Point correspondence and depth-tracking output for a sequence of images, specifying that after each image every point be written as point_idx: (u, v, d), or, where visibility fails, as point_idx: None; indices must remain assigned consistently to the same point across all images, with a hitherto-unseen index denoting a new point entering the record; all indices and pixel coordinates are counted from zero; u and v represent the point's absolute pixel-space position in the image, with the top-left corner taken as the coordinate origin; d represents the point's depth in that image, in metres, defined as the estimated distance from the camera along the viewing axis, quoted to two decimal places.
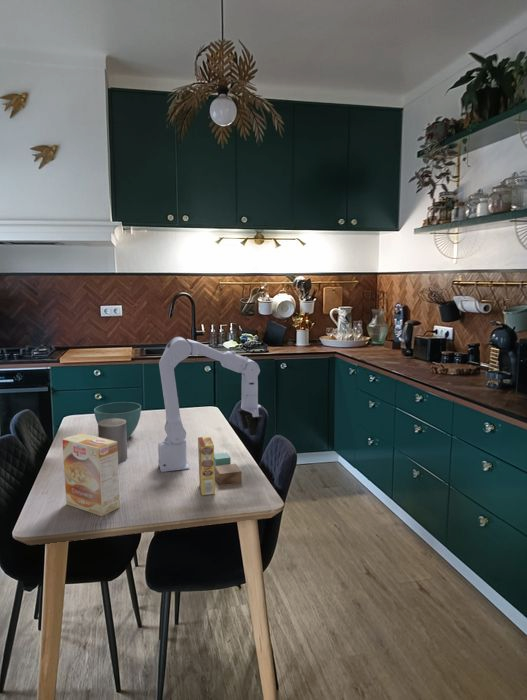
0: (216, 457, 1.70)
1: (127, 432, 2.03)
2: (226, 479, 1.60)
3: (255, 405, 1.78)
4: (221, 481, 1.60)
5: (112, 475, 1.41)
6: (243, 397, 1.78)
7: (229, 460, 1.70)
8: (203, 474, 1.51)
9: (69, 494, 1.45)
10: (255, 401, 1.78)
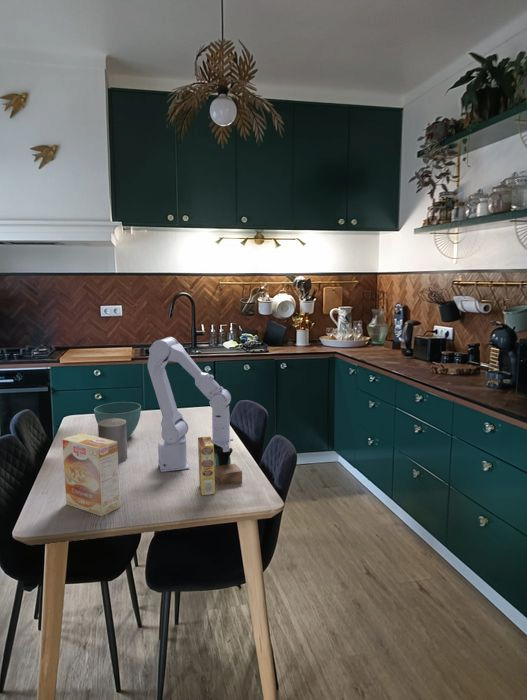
0: (216, 457, 1.70)
1: (127, 432, 2.03)
2: (227, 479, 1.60)
3: (226, 438, 1.69)
4: (222, 481, 1.59)
5: (112, 475, 1.41)
6: (214, 430, 1.69)
7: (229, 460, 1.70)
8: (203, 474, 1.51)
9: (69, 494, 1.45)
10: (226, 434, 1.69)
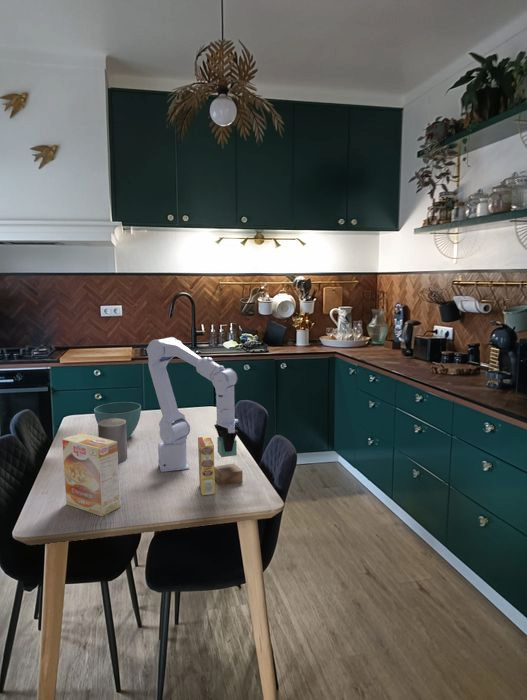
0: (221, 440, 1.63)
1: (127, 432, 2.03)
2: (227, 479, 1.60)
3: (231, 419, 1.62)
4: (223, 481, 1.59)
5: (112, 475, 1.41)
6: (218, 411, 1.61)
7: (235, 443, 1.63)
8: (203, 474, 1.51)
9: (69, 494, 1.45)
10: (231, 415, 1.62)
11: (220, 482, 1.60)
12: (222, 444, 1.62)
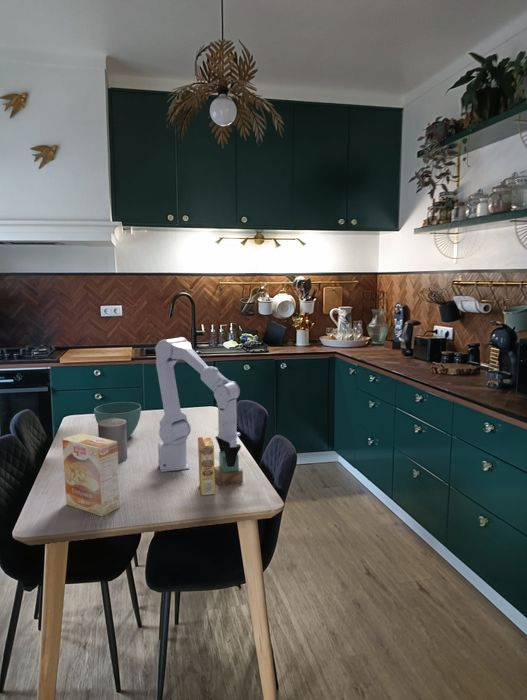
0: (223, 455, 1.61)
1: (127, 432, 2.03)
2: (228, 479, 1.60)
3: (233, 433, 1.60)
4: (223, 481, 1.59)
5: (112, 475, 1.41)
6: (220, 424, 1.59)
7: (237, 458, 1.61)
8: (203, 474, 1.51)
9: (69, 494, 1.45)
10: (233, 429, 1.60)
11: (221, 482, 1.60)
12: (224, 459, 1.60)
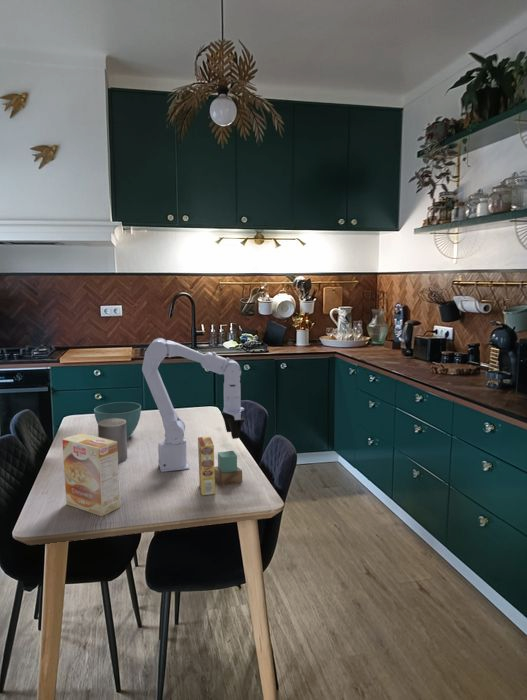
0: (222, 455, 1.61)
1: (127, 432, 2.03)
2: (228, 479, 1.60)
3: (238, 408, 1.73)
4: (223, 481, 1.59)
5: (112, 475, 1.41)
6: (225, 399, 1.73)
7: (235, 458, 1.61)
8: (203, 474, 1.51)
9: (69, 494, 1.45)
10: (237, 403, 1.73)
11: (220, 482, 1.60)
12: (222, 460, 1.59)
